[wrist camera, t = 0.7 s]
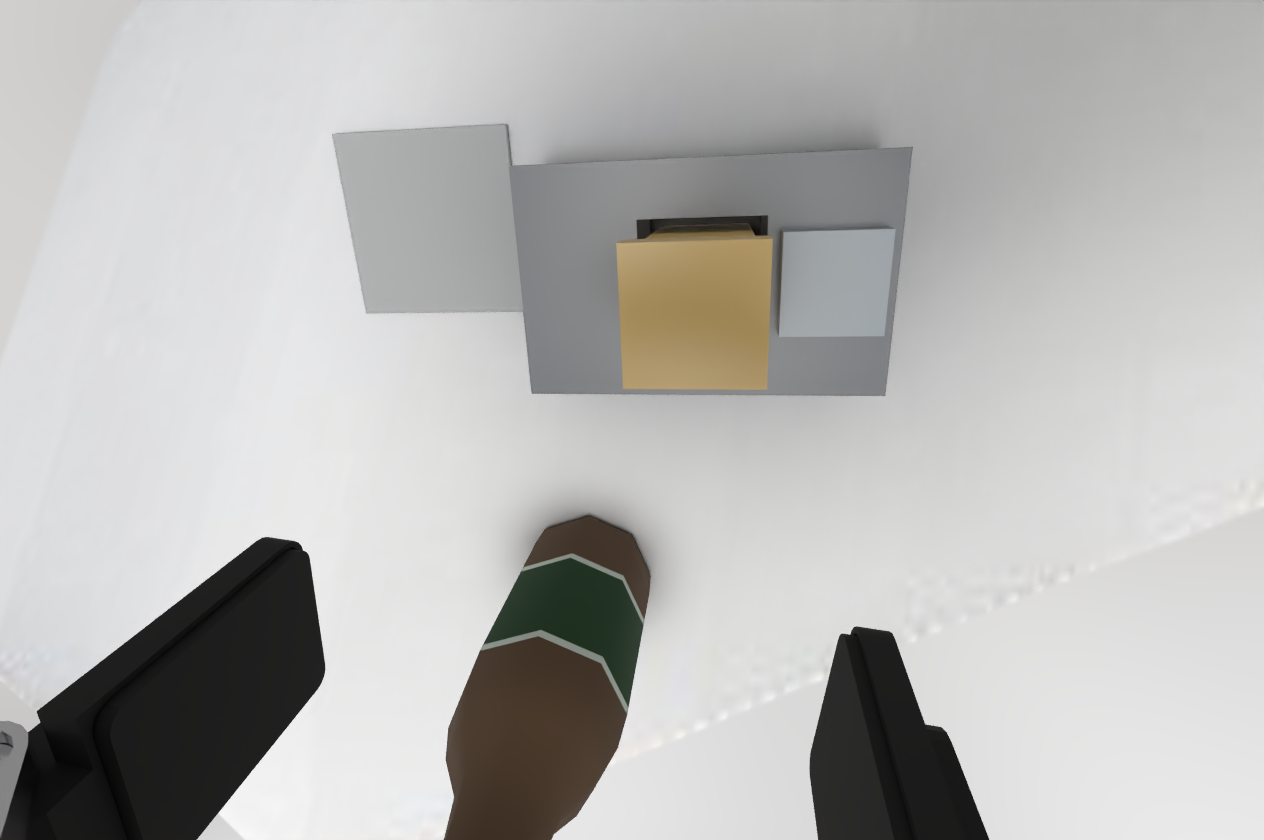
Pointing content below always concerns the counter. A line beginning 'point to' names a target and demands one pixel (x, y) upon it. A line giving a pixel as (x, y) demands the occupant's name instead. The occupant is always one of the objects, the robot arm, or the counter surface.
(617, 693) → the beer bottle
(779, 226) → the grey block with hole
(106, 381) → the counter surface
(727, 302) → the plug
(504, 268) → the mat
